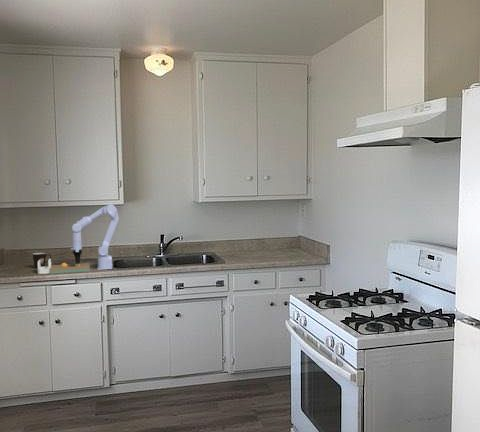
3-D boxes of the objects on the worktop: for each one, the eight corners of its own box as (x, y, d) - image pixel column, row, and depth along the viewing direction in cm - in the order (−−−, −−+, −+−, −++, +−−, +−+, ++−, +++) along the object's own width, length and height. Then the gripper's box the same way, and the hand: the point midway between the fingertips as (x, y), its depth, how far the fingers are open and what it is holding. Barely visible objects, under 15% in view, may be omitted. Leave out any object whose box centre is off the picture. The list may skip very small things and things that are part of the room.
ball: (67, 268, 337) (67, 262, 337) (67, 269, 333) (67, 263, 333) (61, 268, 336) (61, 262, 336) (61, 269, 332) (60, 263, 332)
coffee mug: (32, 269, 343) (31, 254, 343) (33, 267, 351) (33, 252, 351) (50, 268, 346) (50, 253, 346) (51, 266, 355) (51, 252, 354)
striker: (80, 267, 340) (79, 255, 340) (80, 268, 335) (79, 256, 334) (75, 267, 339) (75, 255, 339) (75, 268, 334) (75, 256, 333)
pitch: (89, 268, 345) (89, 256, 345) (89, 271, 334) (89, 258, 333) (39, 271, 335) (38, 259, 335) (37, 274, 324) (37, 261, 323)
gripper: (70, 240, 342) (71, 260, 342) (70, 242, 328) (71, 263, 329) (81, 239, 344) (82, 259, 345) (81, 242, 330) (82, 262, 331)
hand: (77, 261), depth 337 cm, fingers closed on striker, 3 cm apart
